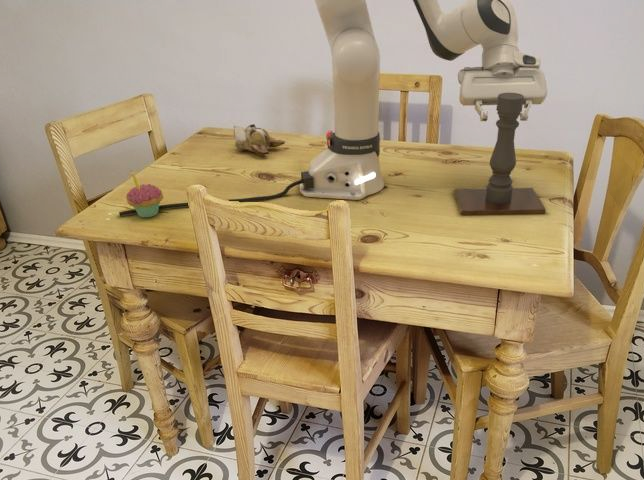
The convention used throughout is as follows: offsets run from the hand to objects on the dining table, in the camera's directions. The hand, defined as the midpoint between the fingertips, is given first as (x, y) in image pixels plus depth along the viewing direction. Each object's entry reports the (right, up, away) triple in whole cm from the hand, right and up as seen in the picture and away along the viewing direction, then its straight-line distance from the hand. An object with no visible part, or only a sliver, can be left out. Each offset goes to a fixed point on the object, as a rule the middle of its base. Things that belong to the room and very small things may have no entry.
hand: (504, 119), depth 142 cm
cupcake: (-87, -21, +8) cm, 89 cm away
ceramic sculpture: (-65, +3, +43) cm, 78 cm away
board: (0, -18, +8) cm, 20 cm away
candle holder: (0, -17, +8) cm, 19 cm away
